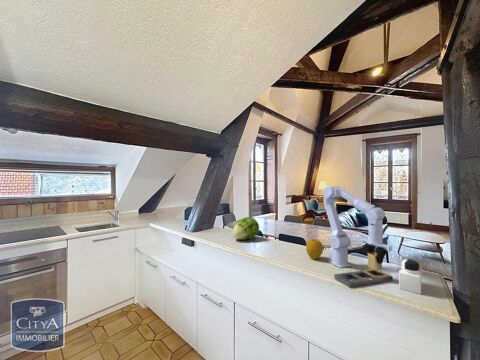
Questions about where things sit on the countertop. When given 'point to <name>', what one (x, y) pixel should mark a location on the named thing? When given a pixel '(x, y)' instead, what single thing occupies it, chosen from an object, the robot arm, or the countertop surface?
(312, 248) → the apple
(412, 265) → the medicine bottle
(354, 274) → the grey rectangular frame
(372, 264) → the tan rectangular block
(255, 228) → the lettuce
